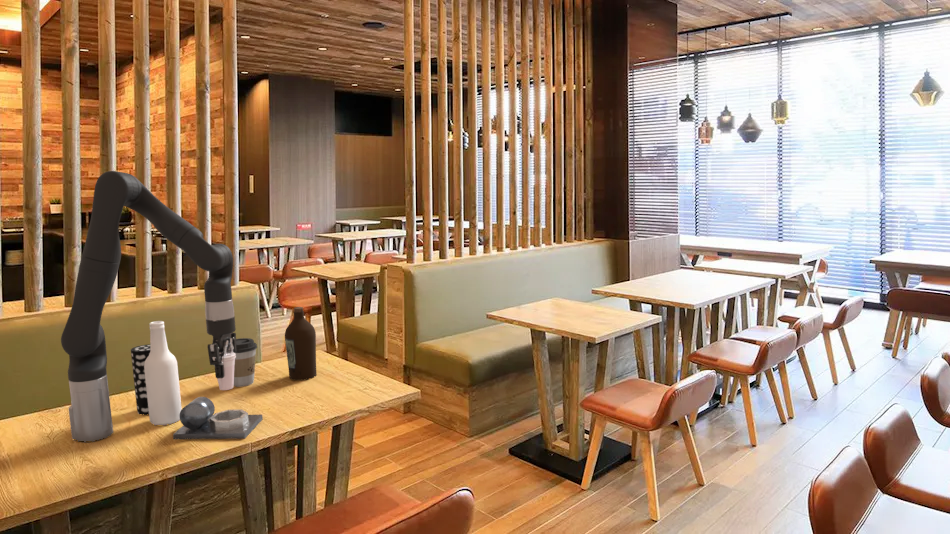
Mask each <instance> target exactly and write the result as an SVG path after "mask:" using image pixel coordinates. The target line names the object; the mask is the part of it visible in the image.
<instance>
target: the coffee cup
mask: <svg viewBox="0 0 950 534" xmlns="http://www.w3.org/2000/svg"><path fill="white" fill-rule="evenodd" d="M257 348H258V344H257V342H255V341H254V339H253V338H251V337H250V338H249V337H243V338H242V337H241V338H236V353H235V354H236V358H235V365H234V386H233V387H237V388H239V387H240V388H241V387H246V386H251V385H252V384H254V381H255V370H256V369H255V368H256V355H257V354H256V352H257V351H256V350H257Z"/></svg>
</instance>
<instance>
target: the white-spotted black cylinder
mask: <svg viewBox="0 0 950 534" xmlns="http://www.w3.org/2000/svg"><path fill="white" fill-rule="evenodd" d="M150 351H151V350H150V344H143V345H137V346H135V347H132V348H131V349H130V354H131V355H130V356H131V364H132V365H131V367H132V376H133V385H134V392H135V405H136V413H137V414H138V415H140V414H142V415H141V416H148V415H147V414H149V409H148V399H147V390H146V380H145V370H144V365H145V360H146V359H147V357H148V356H149V355H150ZM143 414H144V415H143Z"/></svg>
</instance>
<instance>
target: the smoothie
mask: <svg viewBox="0 0 950 534" xmlns="http://www.w3.org/2000/svg"><path fill="white" fill-rule="evenodd" d="M219 354H220V353H219ZM213 358H214V357H213ZM235 358H236V354H235V353H234V352H226V356H225V357H224V361H223V365H224V377H223V378H216V380H217V383H218V384H217V385H218V387H219V390H220V391H228V390H229V391H230V390H232V389H233V388H234V387H235V386H234V365H235ZM213 366H214V367H215V365H213Z"/></svg>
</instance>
